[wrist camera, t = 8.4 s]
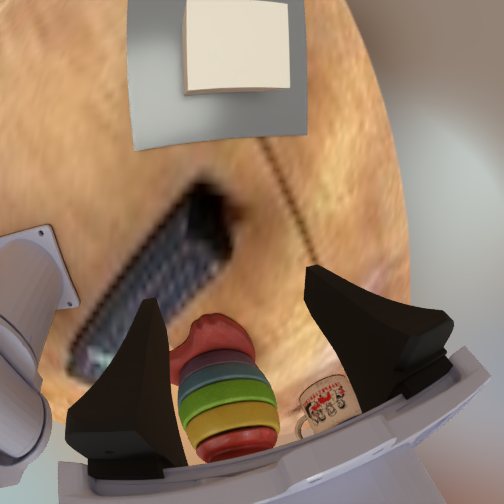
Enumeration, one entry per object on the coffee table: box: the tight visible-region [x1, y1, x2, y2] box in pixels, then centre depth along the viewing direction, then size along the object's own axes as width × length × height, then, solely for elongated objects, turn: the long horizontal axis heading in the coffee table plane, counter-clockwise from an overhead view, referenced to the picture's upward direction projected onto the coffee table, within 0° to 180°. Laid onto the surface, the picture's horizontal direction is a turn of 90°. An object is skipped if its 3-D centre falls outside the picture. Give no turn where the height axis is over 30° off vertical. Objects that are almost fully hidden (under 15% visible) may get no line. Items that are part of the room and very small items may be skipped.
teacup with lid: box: [295, 375, 362, 440], centre depth 36 cm, size 12×9×12 cm
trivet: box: [127, 0, 308, 152], centre depth 15 cm, size 12×12×1 cm
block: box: [182, 0, 290, 96], centre depth 12 cm, size 5×5×5 cm
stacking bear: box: [169, 314, 280, 463], centre depth 21 cm, size 11×10×18 cm
